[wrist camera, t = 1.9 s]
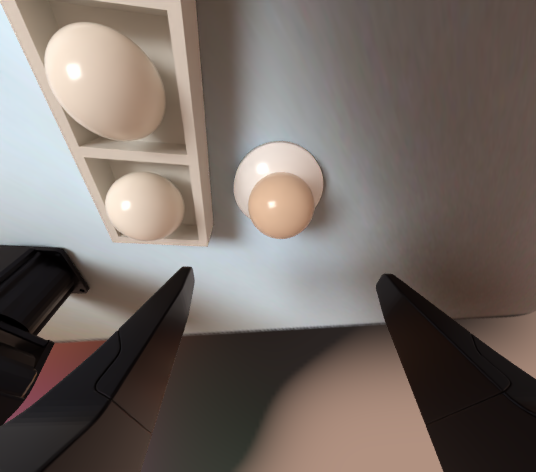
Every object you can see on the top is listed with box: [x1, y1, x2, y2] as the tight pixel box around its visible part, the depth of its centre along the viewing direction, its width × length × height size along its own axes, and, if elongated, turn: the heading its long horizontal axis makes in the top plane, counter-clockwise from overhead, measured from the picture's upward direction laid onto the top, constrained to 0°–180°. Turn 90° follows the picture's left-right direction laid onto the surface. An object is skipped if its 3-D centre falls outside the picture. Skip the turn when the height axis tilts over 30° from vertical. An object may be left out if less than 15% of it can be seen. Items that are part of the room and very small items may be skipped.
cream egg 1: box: [44, 22, 166, 141], centre depth 10 cm, size 5×5×5 cm
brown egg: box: [248, 172, 315, 239], centre depth 15 cm, size 5×5×5 cm
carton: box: [0, 0, 214, 247], centre depth 12 cm, size 20×7×3 cm, turn 175°
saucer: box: [234, 141, 323, 219], centre depth 17 cm, size 7×7×1 cm
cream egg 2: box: [105, 172, 185, 241], centre depth 14 cm, size 5×5×5 cm
